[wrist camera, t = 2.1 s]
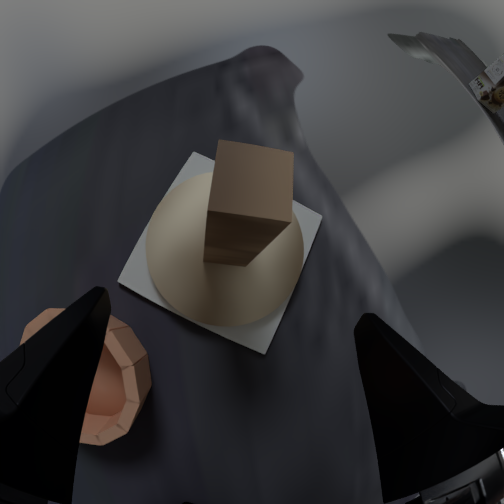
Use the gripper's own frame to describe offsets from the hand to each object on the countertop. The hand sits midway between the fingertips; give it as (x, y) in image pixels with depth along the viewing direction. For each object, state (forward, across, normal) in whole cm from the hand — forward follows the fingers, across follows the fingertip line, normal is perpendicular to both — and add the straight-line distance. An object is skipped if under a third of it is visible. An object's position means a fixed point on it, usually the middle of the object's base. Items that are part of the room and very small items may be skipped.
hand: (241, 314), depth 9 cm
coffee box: (+45, -59, -29) cm, 80 cm away
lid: (+11, 0, +4) cm, 12 cm away
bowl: (+4, +9, +12) cm, 15 cm away
